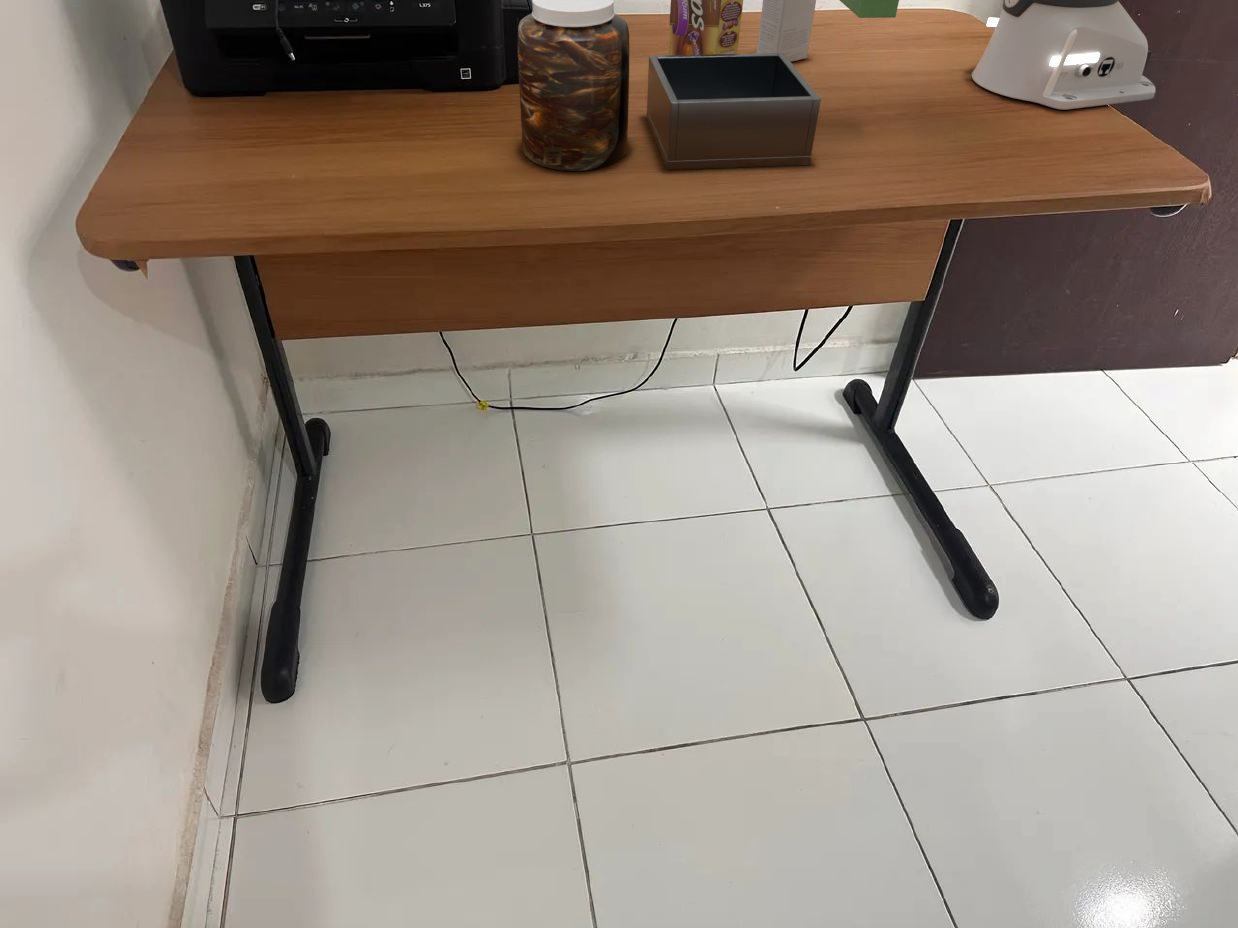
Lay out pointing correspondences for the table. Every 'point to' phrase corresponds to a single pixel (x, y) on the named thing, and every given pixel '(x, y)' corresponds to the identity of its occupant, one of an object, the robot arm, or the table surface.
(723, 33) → the candy box
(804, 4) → the cosmetic box
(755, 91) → the open box
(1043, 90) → the robot arm
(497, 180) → the table surface
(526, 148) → the jar
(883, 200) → the table surface
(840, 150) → the table surface
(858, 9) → the block
